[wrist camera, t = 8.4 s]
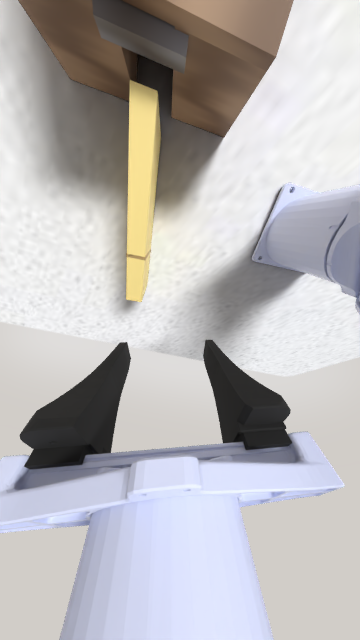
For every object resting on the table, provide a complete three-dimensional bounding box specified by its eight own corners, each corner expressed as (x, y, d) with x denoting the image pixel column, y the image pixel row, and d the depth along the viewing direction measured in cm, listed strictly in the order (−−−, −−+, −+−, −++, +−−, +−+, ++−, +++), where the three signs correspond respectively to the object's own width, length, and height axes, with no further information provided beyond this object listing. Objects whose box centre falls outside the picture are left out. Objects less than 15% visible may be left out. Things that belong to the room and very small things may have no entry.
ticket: (161, 137, 13) (158, 91, 9) (147, 284, 21) (141, 302, 16) (142, 131, 13) (128, 79, 8) (135, 282, 20) (125, 299, 16)
